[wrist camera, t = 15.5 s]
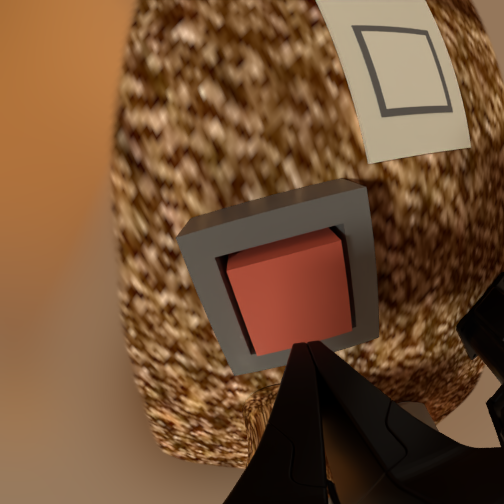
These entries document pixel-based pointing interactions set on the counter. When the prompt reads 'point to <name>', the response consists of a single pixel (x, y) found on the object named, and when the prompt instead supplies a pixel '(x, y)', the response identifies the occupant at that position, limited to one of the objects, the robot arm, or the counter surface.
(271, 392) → the beer glass
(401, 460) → the robot arm
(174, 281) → the counter surface
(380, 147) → the colouring card
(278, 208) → the button housing
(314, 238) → the button
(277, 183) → the counter surface
